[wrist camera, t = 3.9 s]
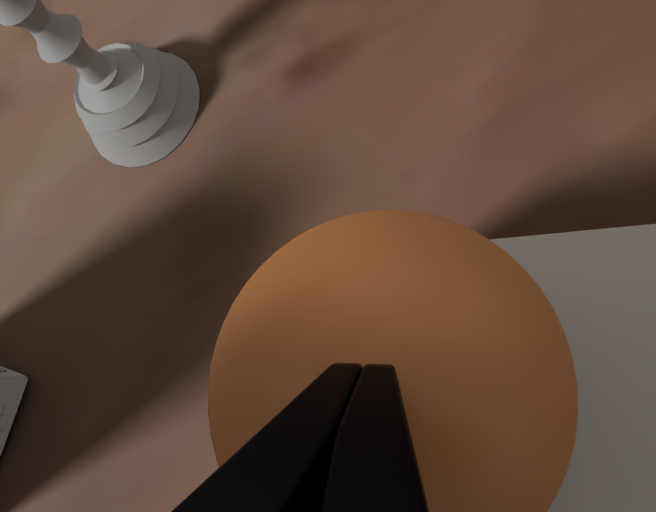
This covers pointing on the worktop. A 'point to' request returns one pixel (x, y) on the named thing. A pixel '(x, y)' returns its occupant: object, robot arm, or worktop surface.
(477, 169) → the worktop surface
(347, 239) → the orange button
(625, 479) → the button console
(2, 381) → the skincare box
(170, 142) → the chalice
